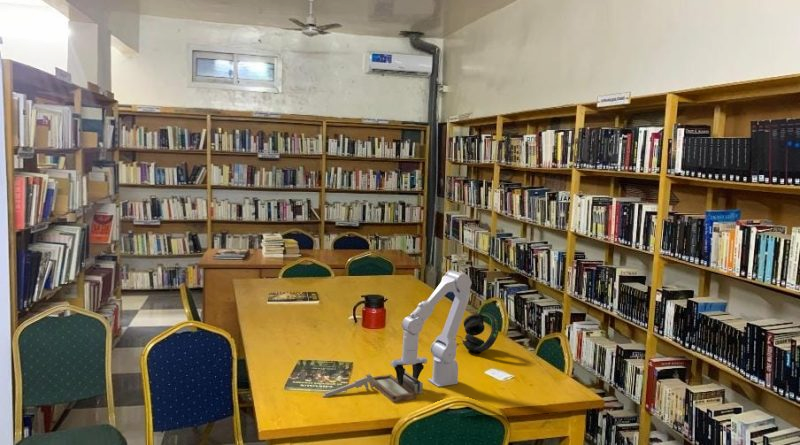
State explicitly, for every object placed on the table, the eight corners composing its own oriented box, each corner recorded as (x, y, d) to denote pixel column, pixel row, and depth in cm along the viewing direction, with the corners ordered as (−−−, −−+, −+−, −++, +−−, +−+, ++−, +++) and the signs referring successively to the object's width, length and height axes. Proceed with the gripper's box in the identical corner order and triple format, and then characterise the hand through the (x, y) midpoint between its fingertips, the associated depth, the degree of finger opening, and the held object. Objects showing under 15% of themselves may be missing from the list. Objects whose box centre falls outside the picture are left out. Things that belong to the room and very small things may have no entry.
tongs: (403, 380, 235) (404, 368, 235) (422, 393, 222) (422, 381, 222) (396, 381, 234) (396, 370, 233) (414, 394, 221) (414, 382, 220)
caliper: (371, 388, 226) (372, 372, 225) (372, 389, 225) (373, 373, 224) (321, 397, 215) (322, 380, 215) (322, 398, 215) (323, 381, 214)
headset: (458, 362, 285) (503, 349, 265) (437, 353, 279) (480, 338, 258) (460, 328, 295) (504, 312, 274) (440, 318, 288) (482, 301, 268)
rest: (390, 379, 235) (390, 374, 235) (415, 398, 217) (416, 393, 217) (368, 382, 231) (369, 377, 231) (393, 402, 213) (393, 396, 213)
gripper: (421, 343, 233) (418, 377, 234) (388, 346, 226) (385, 381, 227) (430, 349, 227) (428, 383, 228) (396, 352, 220) (394, 388, 221)
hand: (407, 383), depth 227 cm, fingers open, 5 cm apart
